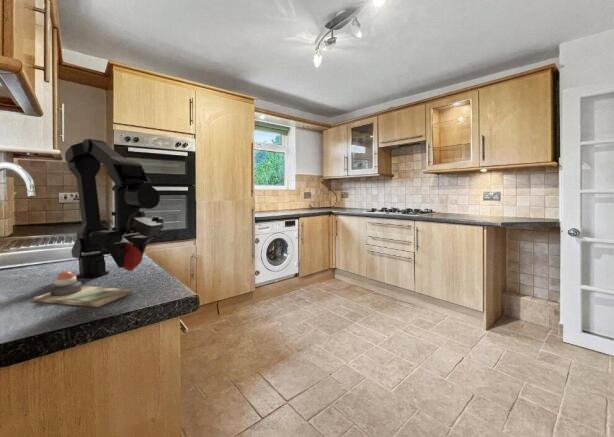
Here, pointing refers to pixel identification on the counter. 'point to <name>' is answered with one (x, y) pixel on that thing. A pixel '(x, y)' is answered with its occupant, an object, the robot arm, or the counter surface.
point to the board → (82, 295)
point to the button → (65, 279)
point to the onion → (131, 257)
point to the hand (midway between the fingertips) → (130, 264)
